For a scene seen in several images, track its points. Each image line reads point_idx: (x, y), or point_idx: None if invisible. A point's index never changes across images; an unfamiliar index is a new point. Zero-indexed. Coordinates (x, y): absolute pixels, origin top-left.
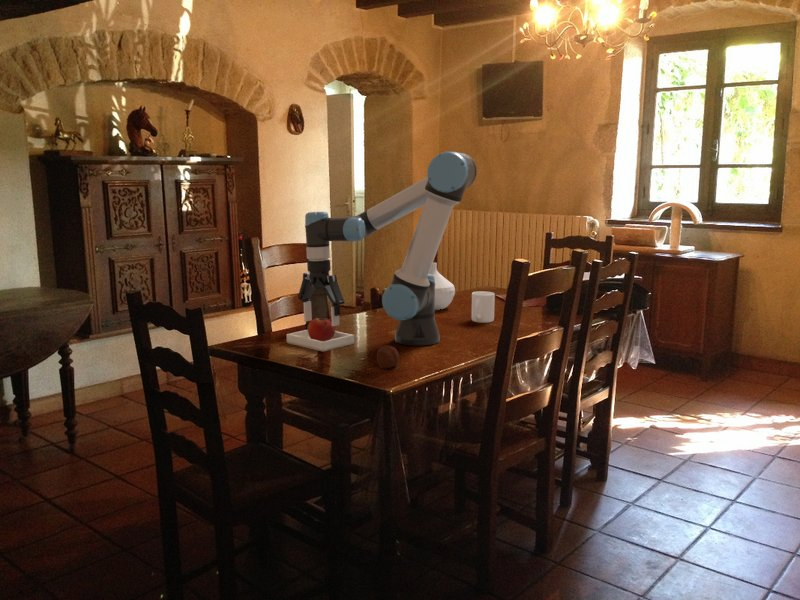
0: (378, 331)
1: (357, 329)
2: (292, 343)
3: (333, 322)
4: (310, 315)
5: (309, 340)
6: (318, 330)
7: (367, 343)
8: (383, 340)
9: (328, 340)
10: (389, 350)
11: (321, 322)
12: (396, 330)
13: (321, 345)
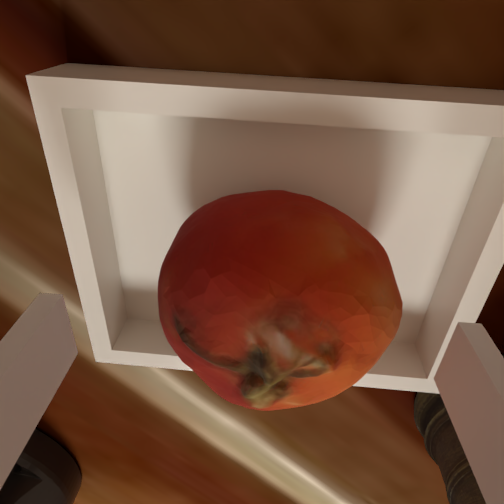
0: (227, 494)
1: (327, 488)
2: (452, 88)
3: (20, 319)
4: (456, 410)
5: (216, 85)
6: (208, 228)
7: (81, 356)
8: (83, 418)
9: (66, 165)
10: None
11: (215, 319)
12: (35, 485)
13: (61, 72)
